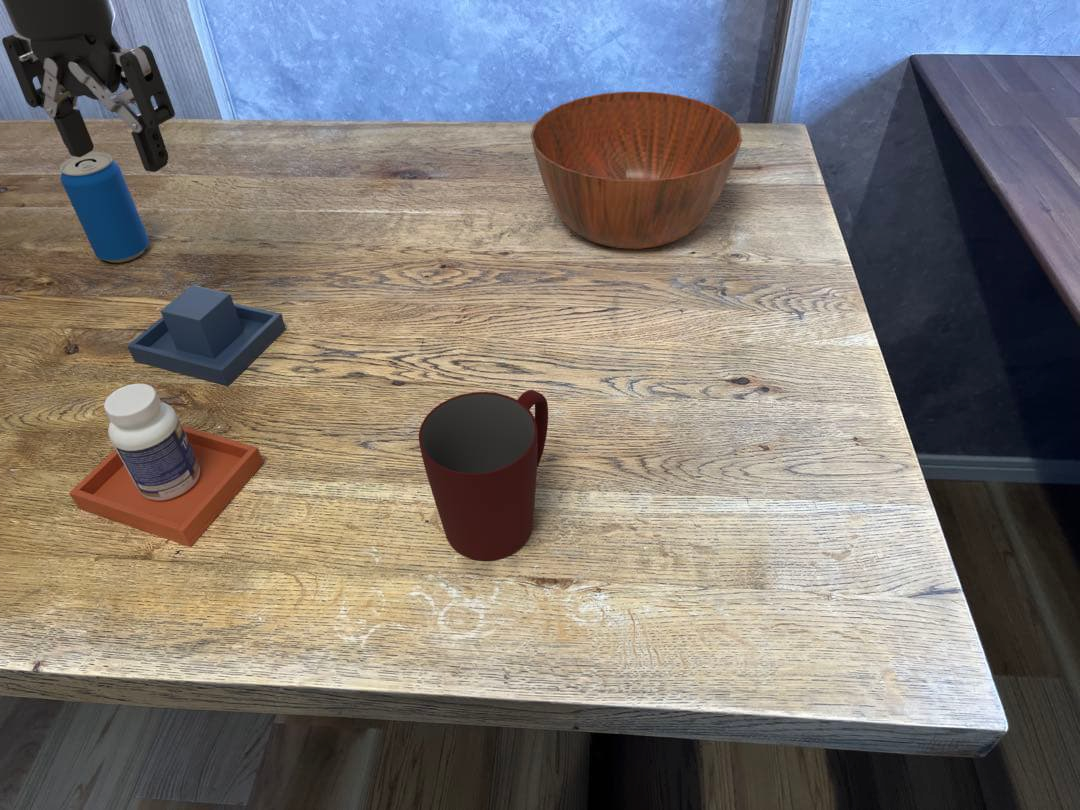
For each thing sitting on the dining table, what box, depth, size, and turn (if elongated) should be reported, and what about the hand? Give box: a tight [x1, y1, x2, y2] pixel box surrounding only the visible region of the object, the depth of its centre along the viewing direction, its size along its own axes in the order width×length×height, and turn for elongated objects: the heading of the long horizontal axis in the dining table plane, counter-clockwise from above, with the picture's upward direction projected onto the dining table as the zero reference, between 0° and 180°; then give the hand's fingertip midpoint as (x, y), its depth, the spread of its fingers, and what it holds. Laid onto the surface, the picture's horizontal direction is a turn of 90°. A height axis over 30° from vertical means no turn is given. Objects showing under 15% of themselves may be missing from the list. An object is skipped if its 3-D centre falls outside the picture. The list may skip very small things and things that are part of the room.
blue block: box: [160, 284, 243, 358], centre depth 86 cm, size 5×5×5 cm
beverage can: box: [59, 151, 150, 264], centre depth 99 cm, size 6×6×12 cm
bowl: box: [530, 91, 743, 250], centre depth 101 cm, size 25×25×11 cm
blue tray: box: [126, 302, 287, 387], centre depth 87 cm, size 12×10×2 cm
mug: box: [418, 389, 549, 561], centre depth 66 cm, size 12×9×11 cm
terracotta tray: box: [68, 424, 264, 548], centre depth 72 cm, size 12×10×2 cm
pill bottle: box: [103, 383, 200, 501], centre depth 69 cm, size 5×5×10 cm
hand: (120, 160), depth 74 cm, fingers open, 8 cm apart
